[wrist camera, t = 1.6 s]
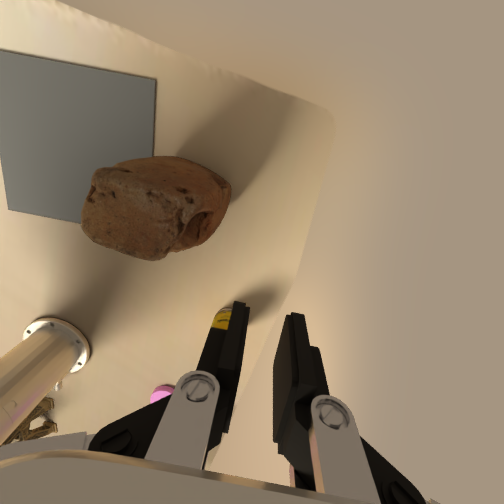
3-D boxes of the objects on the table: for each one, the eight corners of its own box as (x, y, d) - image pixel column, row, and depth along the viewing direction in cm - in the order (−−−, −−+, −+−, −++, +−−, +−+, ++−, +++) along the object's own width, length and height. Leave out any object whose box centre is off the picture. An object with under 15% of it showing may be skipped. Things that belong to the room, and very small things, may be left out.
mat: (149, 236, 45) (148, 236, 44) (10, 209, 45) (8, 209, 44) (155, 80, 37) (155, 80, 36) (-15, 48, 37) (-17, 47, 36)
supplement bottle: (249, 313, 49) (243, 352, 39) (237, 336, 51) (230, 378, 41) (220, 302, 48) (207, 339, 39) (210, 326, 50) (196, 366, 41)
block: (157, 198, 42) (66, 240, 24) (169, 149, 40) (77, 153, 21) (224, 224, 43) (186, 284, 24) (240, 177, 40) (211, 205, 22)
